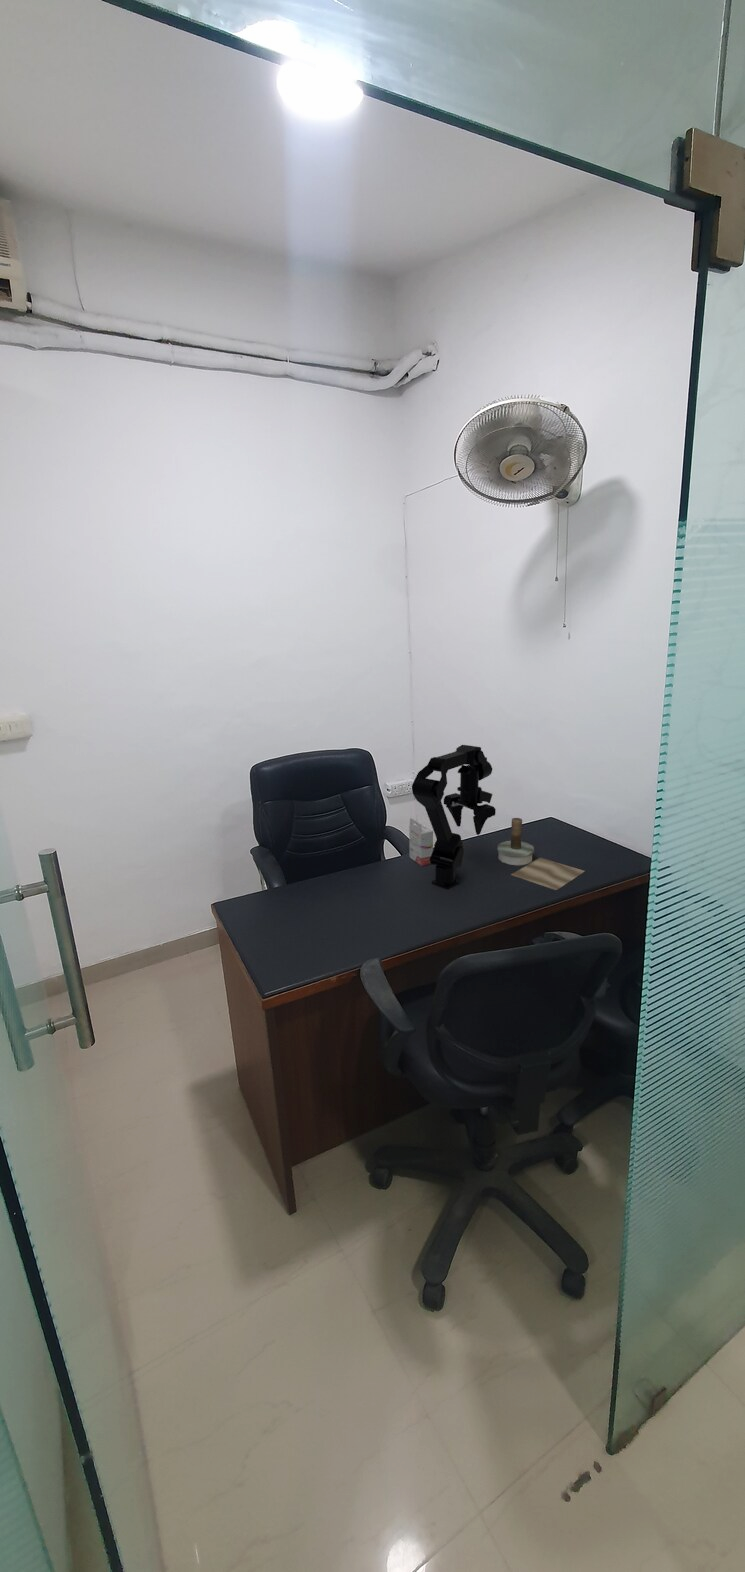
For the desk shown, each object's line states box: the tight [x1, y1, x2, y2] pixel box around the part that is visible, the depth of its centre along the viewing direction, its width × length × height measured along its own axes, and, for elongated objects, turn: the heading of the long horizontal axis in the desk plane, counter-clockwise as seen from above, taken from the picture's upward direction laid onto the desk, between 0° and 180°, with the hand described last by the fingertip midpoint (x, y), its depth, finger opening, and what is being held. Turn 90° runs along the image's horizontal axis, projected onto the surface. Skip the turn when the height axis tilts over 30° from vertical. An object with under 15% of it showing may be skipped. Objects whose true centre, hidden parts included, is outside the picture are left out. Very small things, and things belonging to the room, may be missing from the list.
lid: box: [497, 817, 535, 858], centre depth 202 cm, size 12×12×11 cm
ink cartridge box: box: [408, 817, 434, 867], centre depth 204 cm, size 9×5×15 cm, turn 25°
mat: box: [510, 857, 586, 891], centre depth 193 cm, size 18×16×1 cm
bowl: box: [497, 852, 533, 866], centre depth 204 cm, size 11×11×3 cm
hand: (468, 830), depth 196 cm, fingers open, 9 cm apart
